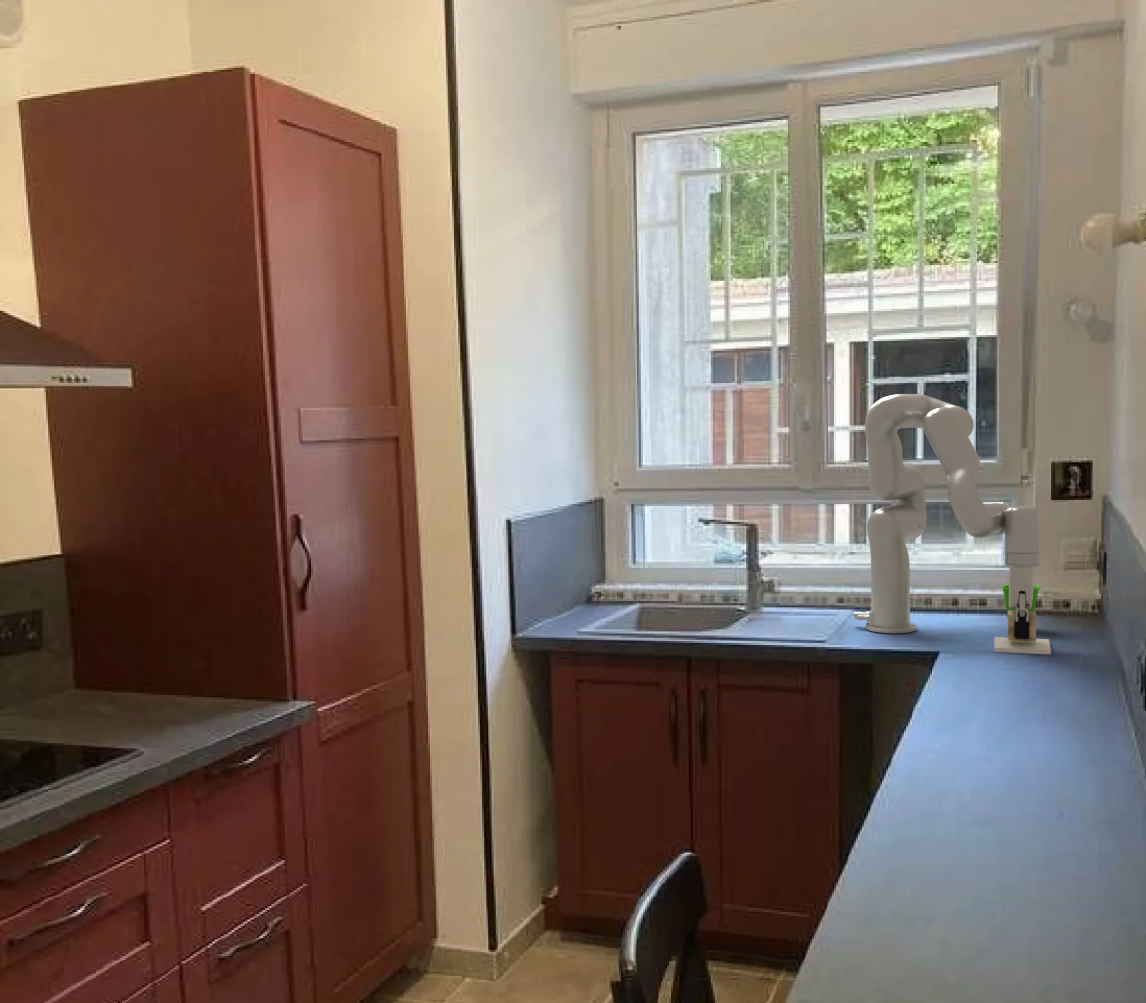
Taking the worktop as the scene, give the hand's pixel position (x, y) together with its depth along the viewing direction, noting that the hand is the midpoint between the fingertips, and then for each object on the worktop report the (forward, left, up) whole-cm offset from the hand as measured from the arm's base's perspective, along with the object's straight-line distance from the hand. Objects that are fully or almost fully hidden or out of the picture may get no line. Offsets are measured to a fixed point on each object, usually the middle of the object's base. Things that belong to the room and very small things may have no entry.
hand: (1021, 635), depth 259 cm
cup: (0, +21, -3) cm, 21 cm away
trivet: (0, 0, -3) cm, 3 cm away
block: (0, 0, -1) cm, 1 cm away
